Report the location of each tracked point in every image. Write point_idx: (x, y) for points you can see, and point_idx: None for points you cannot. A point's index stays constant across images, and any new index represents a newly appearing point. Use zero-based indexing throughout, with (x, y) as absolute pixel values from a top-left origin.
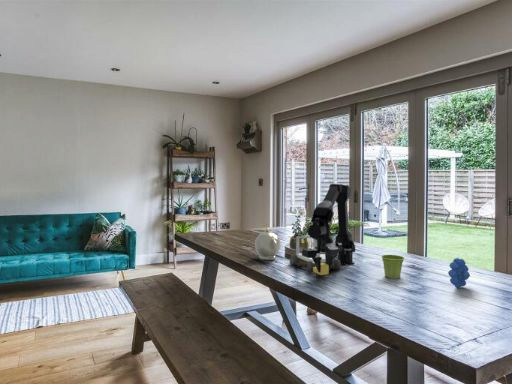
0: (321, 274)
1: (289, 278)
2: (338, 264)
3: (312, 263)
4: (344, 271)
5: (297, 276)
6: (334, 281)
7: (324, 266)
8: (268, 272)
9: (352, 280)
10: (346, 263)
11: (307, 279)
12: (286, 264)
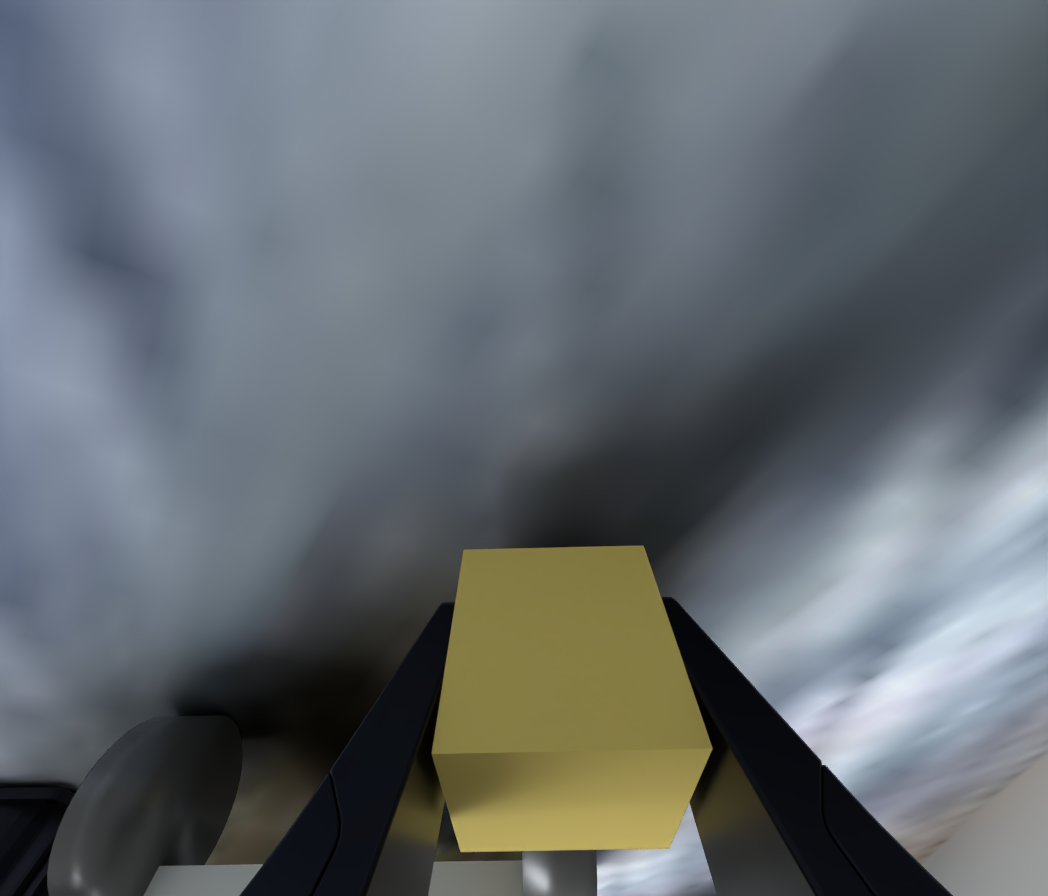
0: (627, 553)
1: (993, 629)
2: (122, 784)
3: (582, 860)
4: (105, 646)
5: (829, 658)
6: (515, 229)
7: (576, 712)
8: (926, 796)
9: (12, 108)
10: (22, 804)
11: (851, 527)
12: (602, 871)
